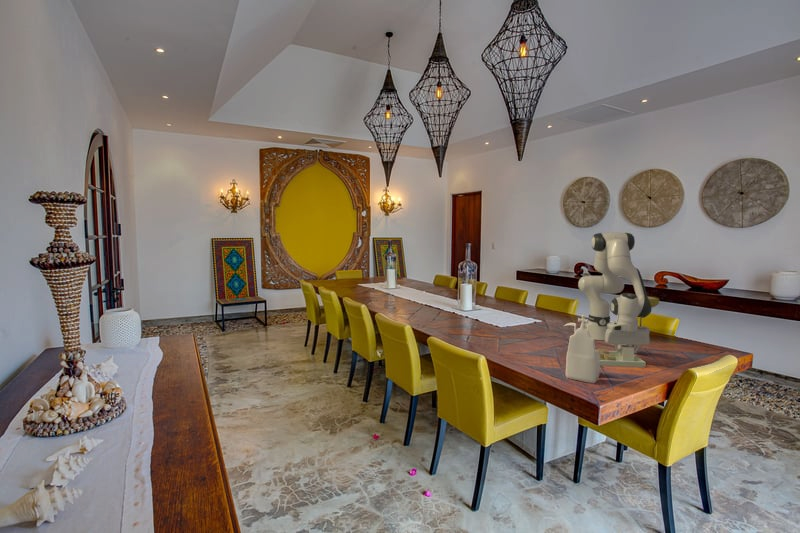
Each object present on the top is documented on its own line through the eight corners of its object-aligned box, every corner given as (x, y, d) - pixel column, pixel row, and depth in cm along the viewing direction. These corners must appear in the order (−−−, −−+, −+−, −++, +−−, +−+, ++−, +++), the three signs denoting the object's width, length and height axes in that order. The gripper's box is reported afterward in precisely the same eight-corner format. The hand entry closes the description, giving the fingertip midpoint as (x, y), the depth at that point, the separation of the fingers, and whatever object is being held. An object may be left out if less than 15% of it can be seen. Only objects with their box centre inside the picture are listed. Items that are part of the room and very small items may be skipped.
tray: (586, 356, 213) (586, 350, 212) (629, 358, 210) (630, 351, 210) (597, 367, 196) (598, 360, 196) (645, 369, 193) (645, 362, 193)
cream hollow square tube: (618, 359, 204) (619, 344, 203) (628, 360, 203) (629, 344, 203) (622, 363, 199) (623, 347, 198) (633, 363, 198) (634, 347, 198)
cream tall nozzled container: (600, 376, 186) (604, 312, 183) (596, 385, 175) (599, 317, 172) (562, 368, 196) (564, 308, 193) (555, 376, 185) (557, 312, 182)
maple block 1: (597, 356, 210) (597, 348, 210) (605, 356, 209) (605, 348, 209) (600, 358, 206) (600, 351, 206) (608, 358, 205) (608, 351, 205)
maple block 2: (594, 358, 206) (594, 351, 205) (602, 358, 205) (603, 351, 205) (597, 361, 202) (597, 353, 202) (605, 361, 201) (606, 353, 201)
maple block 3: (604, 361, 201) (604, 354, 201) (612, 362, 201) (612, 354, 200) (607, 364, 197) (607, 356, 197) (615, 364, 197) (616, 356, 196)
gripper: (646, 324, 201) (645, 351, 203) (604, 323, 204) (602, 350, 205) (653, 328, 195) (651, 355, 196) (608, 327, 198) (607, 354, 199)
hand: (626, 352), depth 201 cm, fingers open, 6 cm apart
